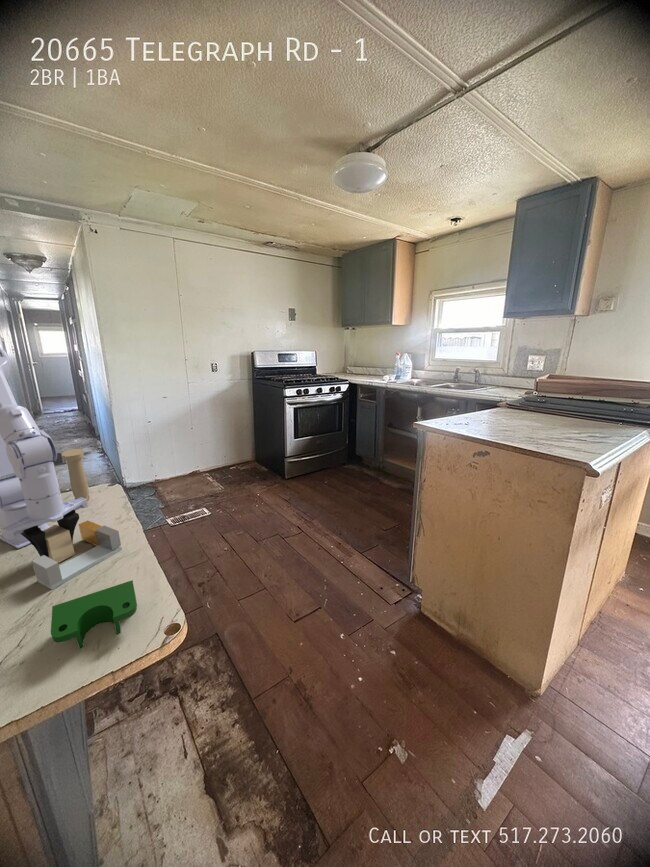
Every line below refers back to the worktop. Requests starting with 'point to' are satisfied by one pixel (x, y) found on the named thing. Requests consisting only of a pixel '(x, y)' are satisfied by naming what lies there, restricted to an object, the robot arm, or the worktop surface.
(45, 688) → the worktop surface
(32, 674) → the worktop surface
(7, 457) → the robot arm
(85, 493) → the handle
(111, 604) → the clamp
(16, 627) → the worktop surface
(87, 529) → the free jaw
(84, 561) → the vise
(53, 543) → the block
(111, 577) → the worktop surface
